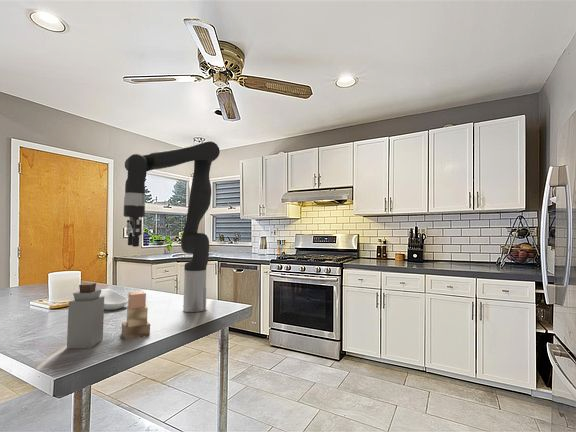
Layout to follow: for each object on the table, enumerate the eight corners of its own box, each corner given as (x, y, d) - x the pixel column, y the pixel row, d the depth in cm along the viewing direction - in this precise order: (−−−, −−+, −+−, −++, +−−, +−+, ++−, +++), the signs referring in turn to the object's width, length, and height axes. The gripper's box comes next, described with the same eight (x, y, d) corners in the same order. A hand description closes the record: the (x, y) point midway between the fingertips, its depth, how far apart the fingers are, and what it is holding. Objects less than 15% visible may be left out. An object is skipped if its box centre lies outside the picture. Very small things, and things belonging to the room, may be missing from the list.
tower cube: (144, 320, 106) (145, 304, 106) (147, 324, 101) (147, 307, 101) (126, 322, 103) (127, 306, 103) (128, 327, 98) (128, 309, 99)
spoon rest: (132, 308, 136) (133, 292, 136) (103, 314, 127) (103, 296, 127) (112, 300, 152) (112, 285, 152) (84, 304, 143) (85, 288, 143)
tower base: (144, 330, 107) (144, 319, 107) (149, 336, 102) (150, 324, 102) (121, 334, 103) (121, 322, 103) (126, 341, 97) (126, 328, 98)
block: (142, 304, 106) (143, 291, 106) (145, 307, 102) (145, 293, 102) (128, 306, 103) (128, 292, 103) (130, 309, 99) (130, 295, 100)
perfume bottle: (80, 340, 97) (82, 282, 98) (102, 339, 98) (104, 282, 98) (66, 348, 90) (69, 286, 91) (91, 347, 91) (93, 286, 92)
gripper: (120, 205, 126) (119, 245, 126) (127, 203, 115) (126, 247, 114) (140, 206, 131) (139, 244, 130) (149, 204, 120) (148, 246, 119)
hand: (133, 245), depth 122 cm, fingers open, 8 cm apart
